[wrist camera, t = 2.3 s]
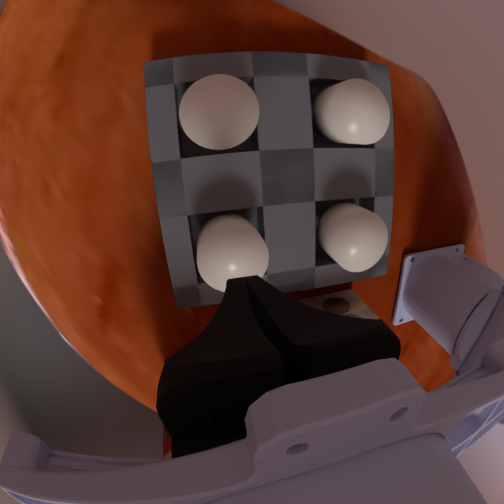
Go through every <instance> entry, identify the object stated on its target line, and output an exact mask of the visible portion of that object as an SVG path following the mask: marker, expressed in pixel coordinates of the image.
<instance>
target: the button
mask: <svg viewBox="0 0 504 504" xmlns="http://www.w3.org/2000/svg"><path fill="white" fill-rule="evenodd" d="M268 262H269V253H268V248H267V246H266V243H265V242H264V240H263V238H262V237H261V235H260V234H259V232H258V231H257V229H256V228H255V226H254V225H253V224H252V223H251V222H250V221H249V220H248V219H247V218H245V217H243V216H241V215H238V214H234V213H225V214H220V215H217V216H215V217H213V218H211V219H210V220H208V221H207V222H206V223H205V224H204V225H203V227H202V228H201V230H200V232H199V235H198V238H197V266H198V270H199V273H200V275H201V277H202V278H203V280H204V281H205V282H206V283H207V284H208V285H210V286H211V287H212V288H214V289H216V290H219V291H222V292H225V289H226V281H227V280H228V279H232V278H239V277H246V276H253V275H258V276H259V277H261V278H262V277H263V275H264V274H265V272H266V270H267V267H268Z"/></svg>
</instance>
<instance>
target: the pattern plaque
mask: <svg viewBox="0 0 504 504" xmlns="http://www.w3.org/2000/svg"><path fill="white" fill-rule="evenodd" d="M297 301H299V302H302V303H304V304H306V305H309V306H311V307H314V308H317V309H320V310H323V311H326V312H330V313H334V314H338V315H343V316H349V317H355V318H366V319H379V318H378V317H377V316H376V315H375V314H374V312H373V311H372V310H371V309H370V308H369V307H368V306H367V305H366V304H365V303H364V302H363V301H362V300H361V299H360V298H359V297H358V296H357V295H356V294H355V293H354V292H353V291H352V290H351V289H349V290H344V291H339V292H334V293H329V294H324V295H319V296H313V297H308V298H302V299H297Z"/></svg>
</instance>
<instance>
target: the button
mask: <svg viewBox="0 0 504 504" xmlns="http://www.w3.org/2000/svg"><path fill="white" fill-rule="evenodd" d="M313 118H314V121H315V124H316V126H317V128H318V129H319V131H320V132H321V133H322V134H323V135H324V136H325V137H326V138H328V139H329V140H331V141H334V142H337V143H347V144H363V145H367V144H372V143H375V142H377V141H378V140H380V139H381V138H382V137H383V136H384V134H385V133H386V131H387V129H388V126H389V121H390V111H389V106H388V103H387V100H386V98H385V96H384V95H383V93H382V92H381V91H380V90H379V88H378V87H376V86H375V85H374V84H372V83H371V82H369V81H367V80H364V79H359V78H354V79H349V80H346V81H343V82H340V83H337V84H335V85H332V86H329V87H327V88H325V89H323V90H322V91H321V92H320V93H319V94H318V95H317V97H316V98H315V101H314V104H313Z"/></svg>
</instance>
